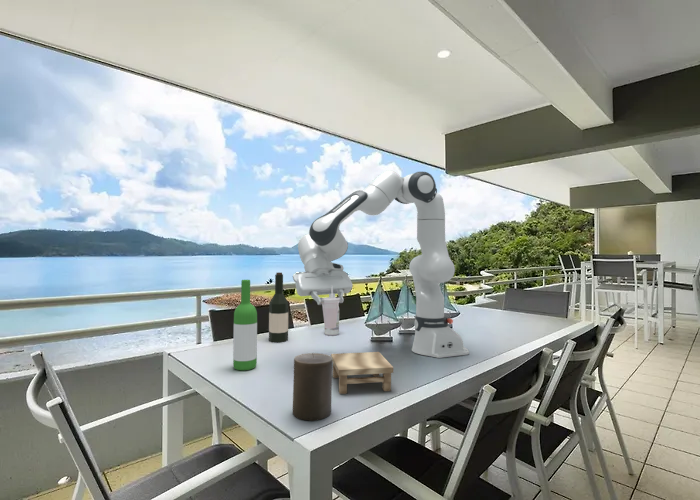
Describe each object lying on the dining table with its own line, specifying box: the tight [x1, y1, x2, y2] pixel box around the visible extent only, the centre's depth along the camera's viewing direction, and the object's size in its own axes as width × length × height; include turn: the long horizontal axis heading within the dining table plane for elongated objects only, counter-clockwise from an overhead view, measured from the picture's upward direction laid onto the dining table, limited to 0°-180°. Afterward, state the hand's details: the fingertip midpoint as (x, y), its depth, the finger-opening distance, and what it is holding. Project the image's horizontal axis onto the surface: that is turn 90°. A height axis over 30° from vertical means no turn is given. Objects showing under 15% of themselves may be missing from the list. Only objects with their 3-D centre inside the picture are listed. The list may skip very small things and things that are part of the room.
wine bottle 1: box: [232, 279, 258, 371], centre depth 127 cm, size 8×8×30 cm
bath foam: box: [324, 294, 340, 336], centre depth 178 cm, size 7×7×20 cm
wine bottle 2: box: [268, 272, 289, 344], centre depth 164 cm, size 8×8×30 cm
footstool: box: [330, 351, 394, 395], centre depth 114 cm, size 16×16×7 cm
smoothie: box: [321, 286, 340, 329], centre depth 125 cm, size 6×6×14 cm
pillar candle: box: [292, 352, 333, 422], centre depth 94 cm, size 10×10×15 cm
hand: (331, 302), depth 124 cm, fingers closed on smoothie, 6 cm apart
